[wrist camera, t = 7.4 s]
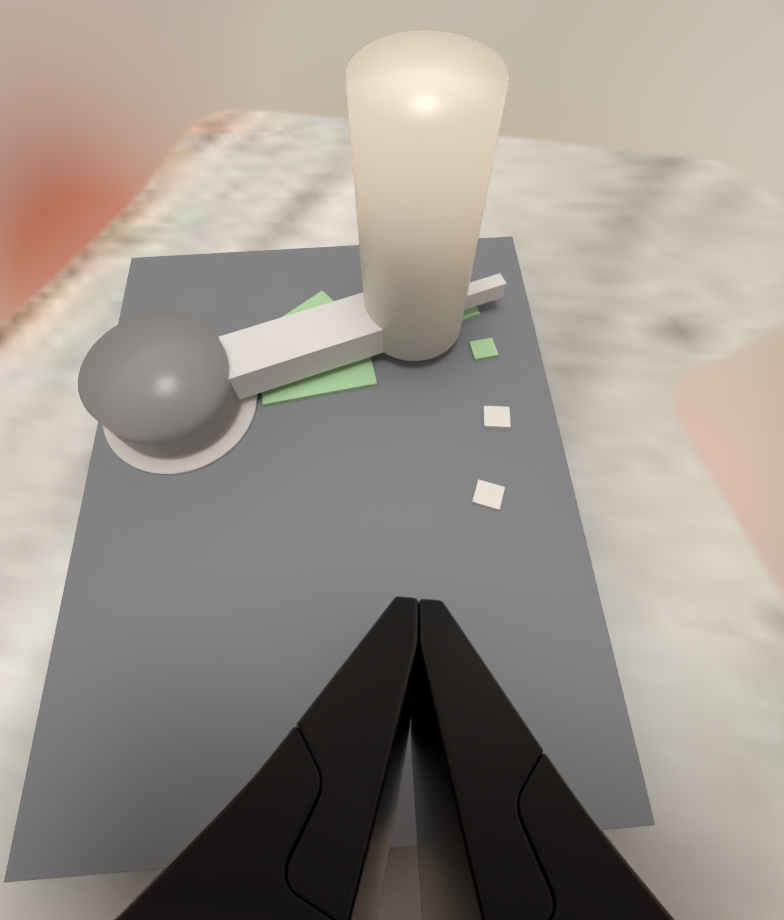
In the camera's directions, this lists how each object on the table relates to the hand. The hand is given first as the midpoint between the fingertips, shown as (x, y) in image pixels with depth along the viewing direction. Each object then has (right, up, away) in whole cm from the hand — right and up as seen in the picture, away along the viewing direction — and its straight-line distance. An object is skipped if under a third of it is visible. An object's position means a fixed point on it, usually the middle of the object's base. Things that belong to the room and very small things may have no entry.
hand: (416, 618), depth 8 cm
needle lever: (-4, +7, +11) cm, 13 cm away
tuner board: (-3, +2, +10) cm, 11 cm away
